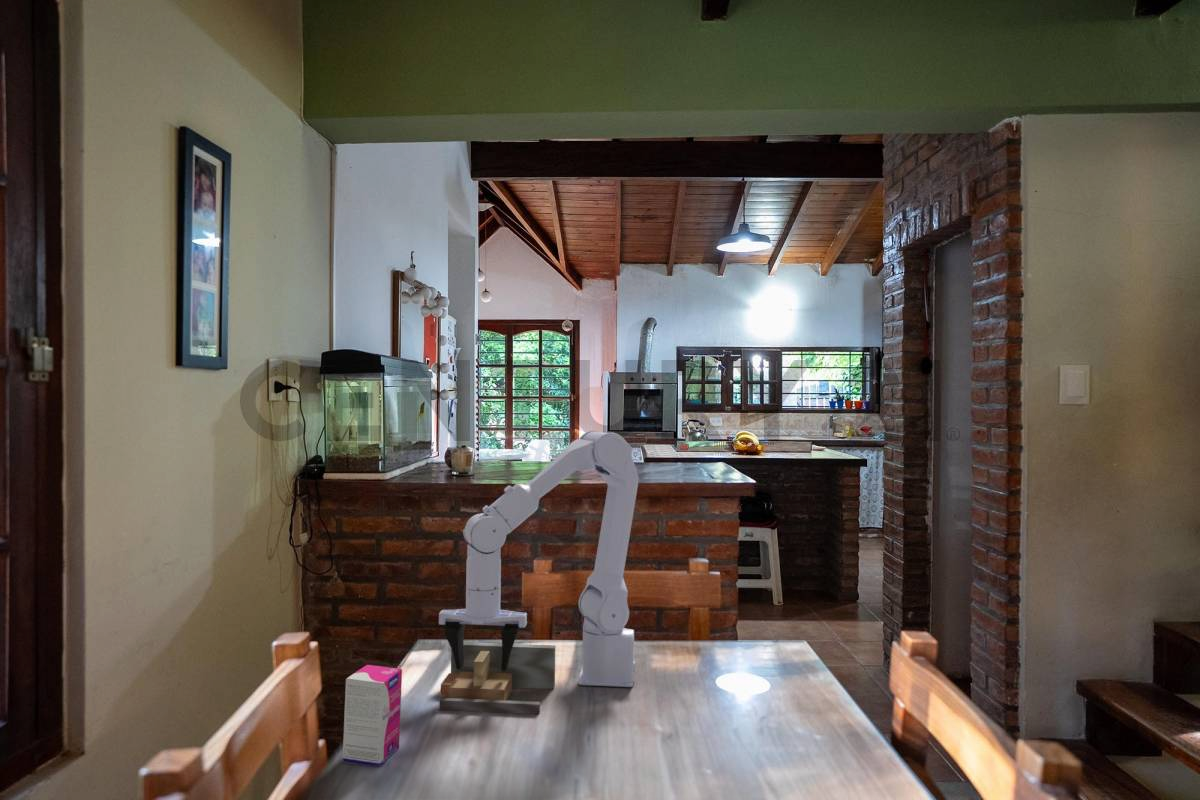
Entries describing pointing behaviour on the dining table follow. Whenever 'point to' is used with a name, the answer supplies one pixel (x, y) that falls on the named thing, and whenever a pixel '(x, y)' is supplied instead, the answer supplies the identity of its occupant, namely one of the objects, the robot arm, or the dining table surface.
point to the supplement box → (372, 715)
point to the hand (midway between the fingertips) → (482, 667)
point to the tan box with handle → (481, 682)
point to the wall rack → (525, 664)
